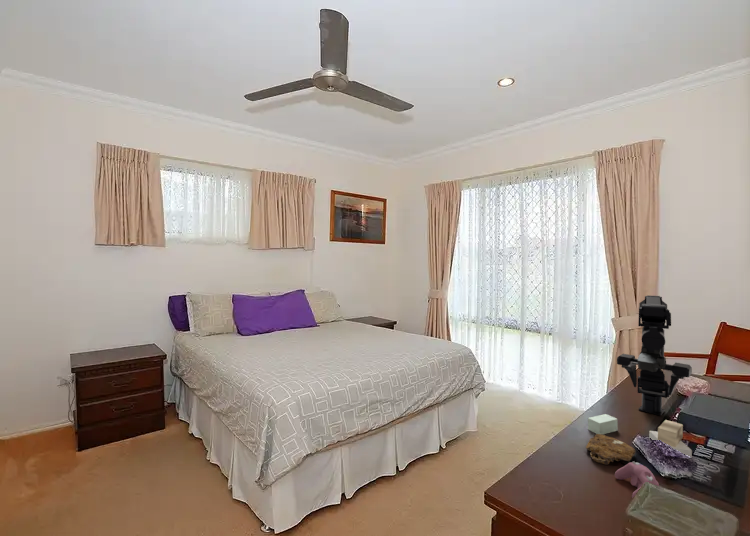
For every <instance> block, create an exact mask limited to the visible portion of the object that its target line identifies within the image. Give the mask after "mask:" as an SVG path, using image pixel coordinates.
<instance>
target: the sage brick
mask: <svg viewBox="0 0 750 536" xmlns="http://www.w3.org/2000/svg"><path fill="white" fill-rule="evenodd" d="M618 423H619V421H618V418H616V417H615V416H611V415H609V414H608V413H607V414H606V413H604V414H599V415H594V416H591V417H590V416H589V417H588V418H587V430H588V431H590V432H592V433H595V435H596V434H602V435H605V434H609V433H614V432H617V431H618Z"/></svg>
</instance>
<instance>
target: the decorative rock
mask: <svg viewBox="0 0 750 536" xmlns="http://www.w3.org/2000/svg"><path fill="white" fill-rule="evenodd" d="M585 449H586V450H587V451H589V452H590V453H589V454H590V458H592V460H593V462H596V463H598V464H603V465H606V466H607V465H610V462H612V463H614V461H617V462H620V461H626V462H630V461H631V460H632V458H633V457H634V456H635V454H636V452H637V451H636V449H635V448H634V447H633V446H631V445H630V444H628V443H626V442H624V441H622V440H619V439H617V438H615V437H613V436H608V435H605V434H596V433H595V435H594V436H593V437H591V438H589V441H588V442H587V444H586V445H585Z"/></svg>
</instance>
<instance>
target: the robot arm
mask: <svg viewBox="0 0 750 536" xmlns="http://www.w3.org/2000/svg"><path fill="white" fill-rule="evenodd" d="M637 323H638V326H637V327H641V350H640V352H639V355H638V357H637V358H636V357H635V355H633V354H627V353H621V354H620V355H618V356H617V358H616V365H618V366H621V368H622V369H625V370H626V372H627V373H628V375H629V377H630V379H631V383H632V385H633V387H634V388H637V394H641V406H640V407H638V411H641V412H645V413H647V414H653V415H655V416H656V415H657V416H662V415H663V413H665V412H666V410H665V409H666V408H665V409H664V408H663V398H665V399H668V398H670V396H671V395H672V394H673V392H674V389H675V388H676V385H677V384H678V382H679V380H684V379H685V378H690V376H692V374H693V368H692V366H691V365H690V364H687V363H681V362H674V364H668V363H667V357H666V356H665V345H666V337H665V329H666V330H670V327H671V326H672V313H671V312H670V310H669V308H668V304H667V303H666V302H664V301H663V297H662V296H660V295H648V294H647V295H645V296H644V299H642V300H641V301H640V302H639V307H638V322H637ZM637 368H638V369H639V370H640V371H639V375H638V376H637V374H638V373H637ZM663 370H665V371H668V372H669V371H670V372H671V373H672V374H671V375H670V382H669V383H670V384H669V383H668V380H665V378H666V377H665V374H664V371H663Z"/></svg>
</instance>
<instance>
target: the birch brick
mask: <svg viewBox="0 0 750 536" xmlns="http://www.w3.org/2000/svg"><path fill="white" fill-rule="evenodd" d="M683 427H684V425H683V424H682V423H679V422H675V421H671V420H667V419H665V420H664V421H663V422H662V423H661V424H660V425H659V426H658V427H657V431H658V440H661V441H662V442H664V443H666V444H668V445H670V446H673V447H676V446H677V445H678V443H679V442H680V441H682V439H683V437H684V435H683V433H684V428H683Z"/></svg>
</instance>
